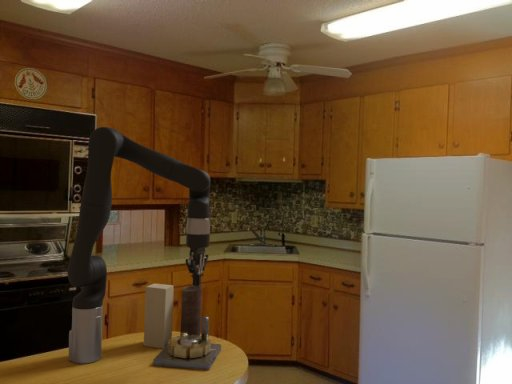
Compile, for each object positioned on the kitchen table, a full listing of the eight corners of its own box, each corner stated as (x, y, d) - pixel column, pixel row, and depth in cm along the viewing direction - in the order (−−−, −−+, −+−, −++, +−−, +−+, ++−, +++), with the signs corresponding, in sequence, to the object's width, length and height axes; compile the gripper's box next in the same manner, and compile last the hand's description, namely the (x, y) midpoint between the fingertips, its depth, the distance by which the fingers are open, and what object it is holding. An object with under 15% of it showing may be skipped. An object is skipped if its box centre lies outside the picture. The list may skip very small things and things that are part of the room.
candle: (202, 343, 170) (204, 288, 170) (182, 345, 167) (184, 289, 167) (197, 336, 177) (198, 283, 177) (178, 338, 175) (179, 284, 174)
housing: (153, 365, 148) (154, 346, 148) (171, 346, 166) (171, 329, 166) (209, 370, 146) (209, 350, 146) (221, 349, 164) (221, 332, 164)
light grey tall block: (173, 342, 170) (174, 284, 170) (164, 348, 163) (165, 288, 163) (153, 339, 172) (154, 282, 172) (143, 346, 165) (144, 286, 165)
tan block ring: (215, 354, 153) (216, 322, 153) (175, 360, 147) (176, 327, 147) (201, 341, 165) (201, 311, 165) (163, 346, 159) (164, 315, 159)
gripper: (200, 234, 143) (198, 291, 144) (216, 230, 156) (215, 282, 156) (178, 233, 146) (176, 288, 146) (196, 229, 158) (194, 280, 159)
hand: (196, 285), depth 151 cm, fingers closed
